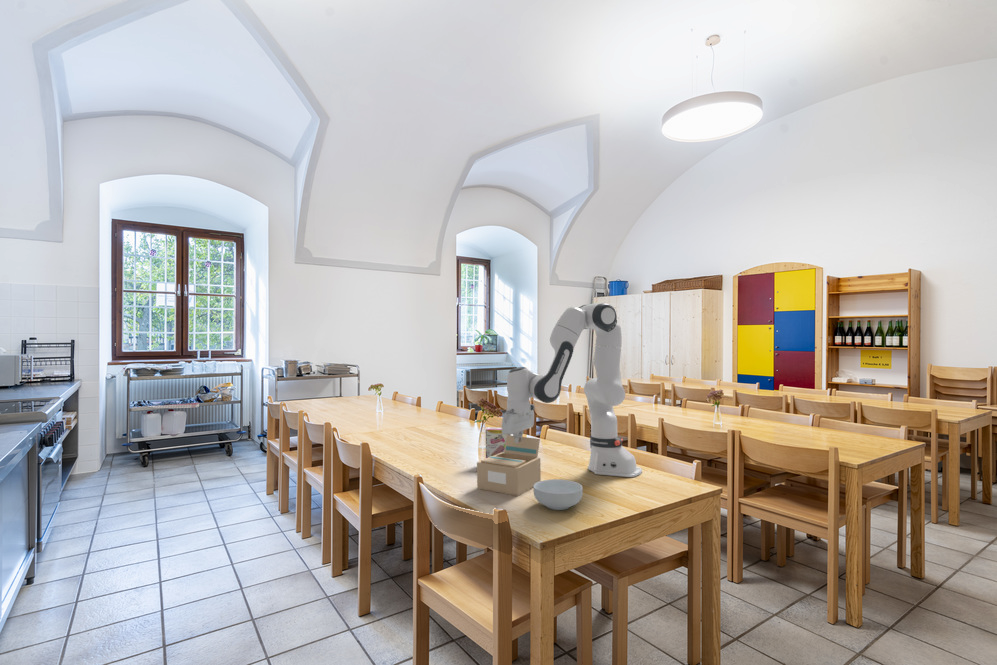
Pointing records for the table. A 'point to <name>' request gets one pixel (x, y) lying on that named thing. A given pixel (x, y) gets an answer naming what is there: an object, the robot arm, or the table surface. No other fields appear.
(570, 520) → the table surface
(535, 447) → the cardboard box flap
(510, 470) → the carton
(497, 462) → the flap
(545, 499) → the cereal bowl
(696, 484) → the table surface
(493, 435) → the candy bar box
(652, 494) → the table surface
